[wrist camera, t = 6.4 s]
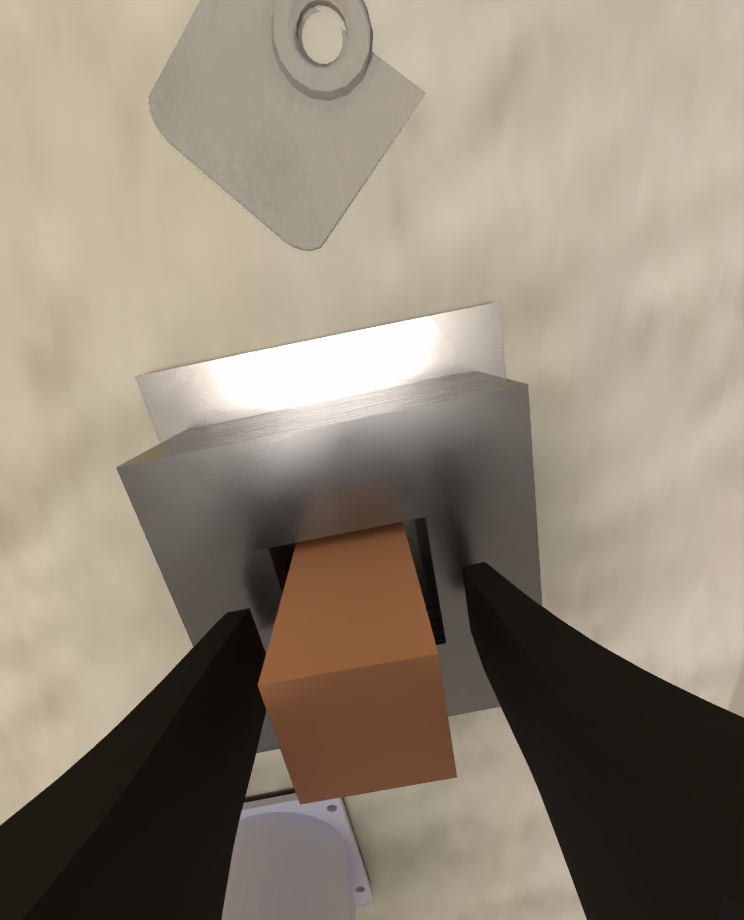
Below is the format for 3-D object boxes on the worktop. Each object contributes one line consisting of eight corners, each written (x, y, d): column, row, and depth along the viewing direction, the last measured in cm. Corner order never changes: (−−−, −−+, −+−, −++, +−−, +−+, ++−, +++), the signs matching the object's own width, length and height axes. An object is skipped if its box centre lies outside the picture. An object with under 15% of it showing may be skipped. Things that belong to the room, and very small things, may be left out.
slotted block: (522, 633, 17) (580, 736, 13) (260, 684, 17) (229, 802, 13) (493, 303, 13) (567, 284, 8) (144, 374, 13) (36, 393, 8)
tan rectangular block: (402, 549, 15) (457, 777, 7) (326, 563, 15) (299, 804, 7) (390, 478, 14) (438, 653, 6) (309, 493, 14) (257, 685, 6)
